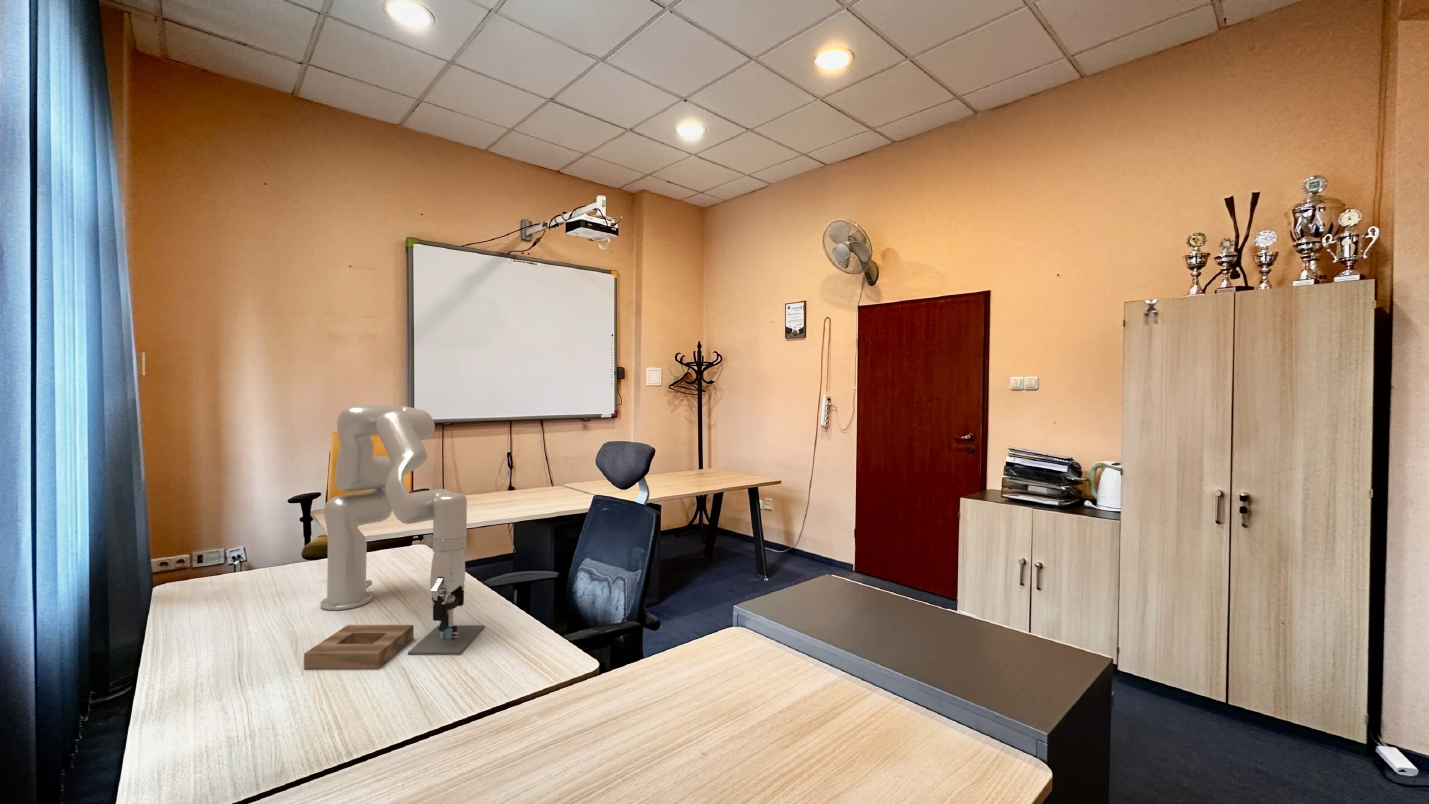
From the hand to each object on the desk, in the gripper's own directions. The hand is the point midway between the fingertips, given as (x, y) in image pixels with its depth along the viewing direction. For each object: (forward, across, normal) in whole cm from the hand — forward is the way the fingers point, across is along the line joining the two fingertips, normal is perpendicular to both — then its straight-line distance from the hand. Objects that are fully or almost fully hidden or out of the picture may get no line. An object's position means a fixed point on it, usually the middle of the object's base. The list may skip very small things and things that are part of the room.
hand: (448, 612), depth 142 cm
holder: (+7, +7, -17) cm, 20 cm away
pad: (+7, 0, 0) cm, 7 cm away
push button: (+6, 0, 0) cm, 7 cm away
